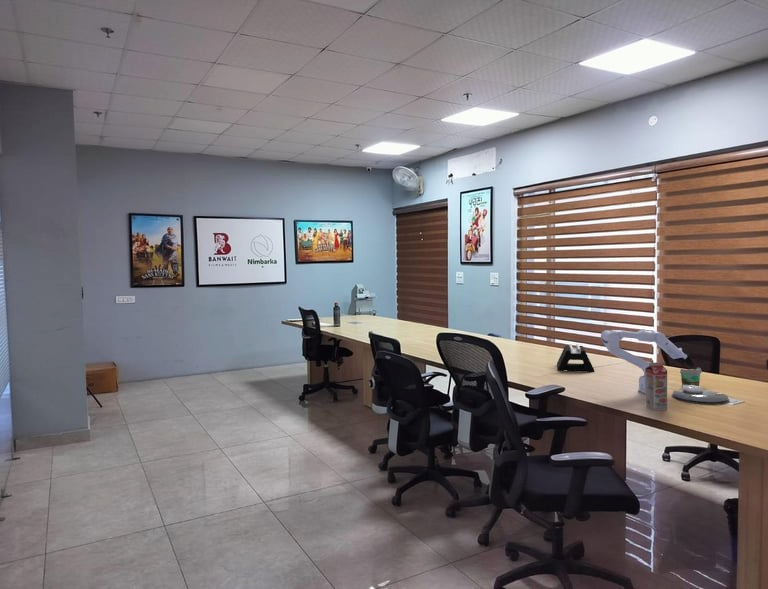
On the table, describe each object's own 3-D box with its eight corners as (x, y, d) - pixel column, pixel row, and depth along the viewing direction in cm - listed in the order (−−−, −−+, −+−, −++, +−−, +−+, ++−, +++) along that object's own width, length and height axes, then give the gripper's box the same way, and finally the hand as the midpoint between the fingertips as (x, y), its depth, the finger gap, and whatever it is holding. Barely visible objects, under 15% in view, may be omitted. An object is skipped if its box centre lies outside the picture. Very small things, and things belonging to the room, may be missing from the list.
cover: (689, 394, 268) (689, 389, 268) (678, 390, 277) (678, 385, 277) (706, 393, 269) (706, 388, 269) (695, 389, 278) (695, 384, 278)
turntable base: (691, 405, 254) (691, 404, 254) (661, 393, 279) (661, 392, 279) (741, 403, 255) (741, 402, 255) (707, 391, 280) (707, 390, 280)
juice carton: (645, 406, 254) (645, 361, 253) (658, 406, 255) (658, 361, 253) (653, 410, 247) (653, 364, 246) (667, 409, 248) (667, 363, 247)
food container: (689, 389, 287) (689, 370, 286) (679, 386, 293) (679, 368, 292) (707, 387, 290) (707, 369, 290) (697, 384, 296) (697, 367, 296)
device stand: (557, 371, 345) (557, 348, 345) (556, 365, 367) (556, 343, 366) (594, 372, 339) (594, 349, 338) (591, 365, 360) (591, 344, 360)
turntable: (691, 403, 255) (691, 400, 255) (663, 392, 279) (663, 389, 279) (739, 401, 256) (739, 399, 255) (707, 390, 279) (707, 388, 279)
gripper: (682, 344, 274) (701, 360, 275) (666, 341, 289) (685, 356, 289) (673, 354, 274) (693, 371, 275) (658, 350, 289) (676, 366, 289)
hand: (688, 364), depth 282 cm, fingers open, 7 cm apart
